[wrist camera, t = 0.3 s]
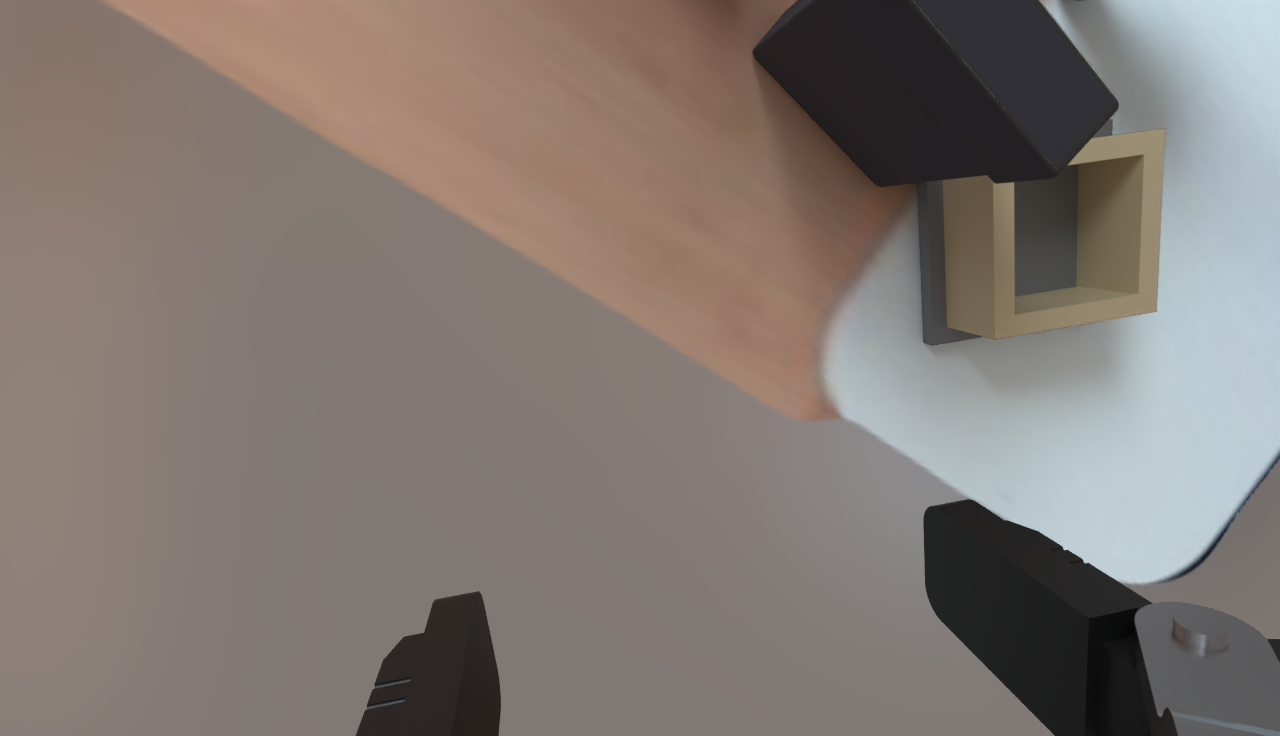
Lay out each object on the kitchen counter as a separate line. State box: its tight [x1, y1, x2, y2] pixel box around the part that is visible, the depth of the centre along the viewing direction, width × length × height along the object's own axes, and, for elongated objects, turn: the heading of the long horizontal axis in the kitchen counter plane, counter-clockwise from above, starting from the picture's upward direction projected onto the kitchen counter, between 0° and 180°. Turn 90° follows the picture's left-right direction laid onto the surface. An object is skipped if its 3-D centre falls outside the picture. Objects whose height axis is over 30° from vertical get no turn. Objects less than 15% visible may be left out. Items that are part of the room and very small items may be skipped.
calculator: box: [753, 0, 1119, 187], centre depth 31 cm, size 11×4×15 cm, turn 49°
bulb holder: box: [918, 119, 1165, 345], centre depth 39 cm, size 12×12×6 cm
